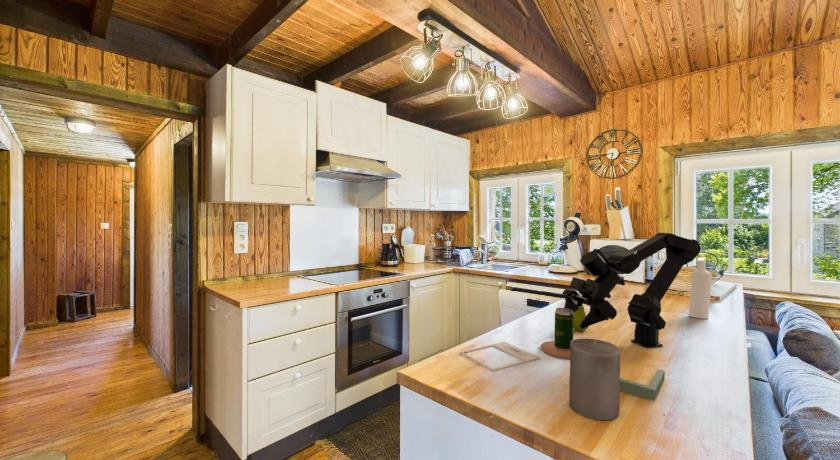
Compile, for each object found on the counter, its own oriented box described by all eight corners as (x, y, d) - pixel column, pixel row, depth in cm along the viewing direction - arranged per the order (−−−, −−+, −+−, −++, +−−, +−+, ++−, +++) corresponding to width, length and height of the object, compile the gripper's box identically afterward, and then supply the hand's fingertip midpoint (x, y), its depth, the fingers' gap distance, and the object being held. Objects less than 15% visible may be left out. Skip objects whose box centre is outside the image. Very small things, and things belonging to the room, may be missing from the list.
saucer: (567, 341, 116) (567, 339, 116) (596, 357, 104) (596, 354, 104) (532, 345, 113) (532, 342, 113) (558, 361, 100) (558, 358, 100)
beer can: (574, 347, 109) (575, 309, 109) (571, 352, 104) (571, 313, 104) (556, 343, 112) (557, 306, 112) (552, 349, 108) (553, 310, 107)
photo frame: (540, 356, 102) (493, 369, 93) (540, 360, 102) (493, 373, 93) (504, 341, 115) (460, 351, 106) (504, 344, 115) (460, 354, 106)
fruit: (570, 331, 127) (570, 298, 126) (569, 326, 133) (570, 295, 132) (589, 334, 124) (590, 300, 124) (588, 329, 130) (589, 297, 130)
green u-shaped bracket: (591, 361, 101) (592, 352, 101) (664, 380, 89) (664, 370, 89) (575, 377, 90) (575, 367, 90) (654, 401, 79) (655, 390, 79)
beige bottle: (712, 315, 150) (715, 257, 149) (706, 321, 142) (708, 259, 141) (693, 312, 155) (695, 256, 154) (686, 317, 147) (688, 257, 146)
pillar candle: (576, 392, 82) (577, 329, 82) (623, 407, 76) (625, 339, 75) (562, 410, 75) (563, 341, 74) (613, 428, 69) (615, 352, 68)
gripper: (567, 264, 118) (537, 298, 116) (609, 273, 100) (574, 313, 98) (587, 286, 120) (558, 320, 118) (631, 299, 102) (598, 339, 100)
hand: (570, 322), depth 108 cm, fingers open, 9 cm apart
